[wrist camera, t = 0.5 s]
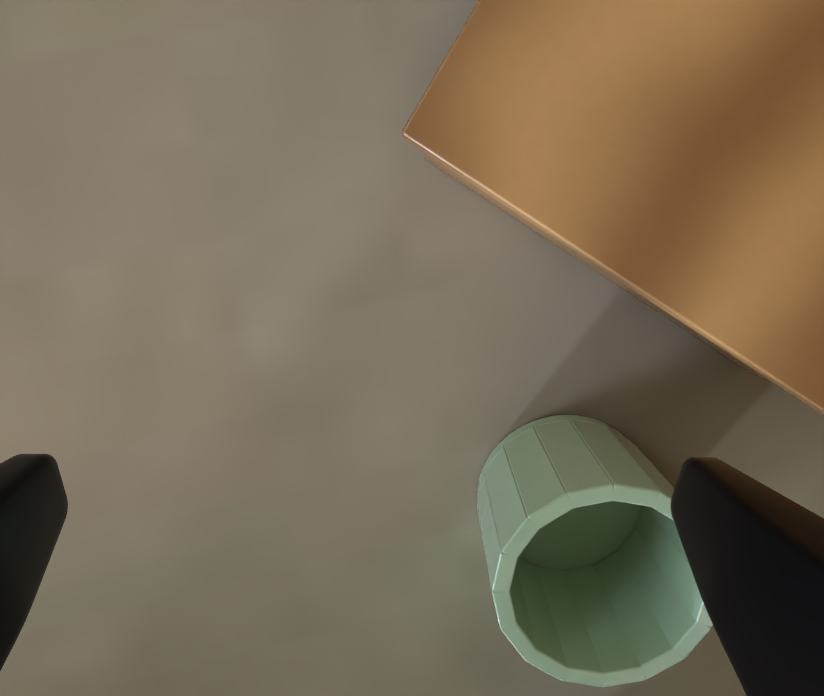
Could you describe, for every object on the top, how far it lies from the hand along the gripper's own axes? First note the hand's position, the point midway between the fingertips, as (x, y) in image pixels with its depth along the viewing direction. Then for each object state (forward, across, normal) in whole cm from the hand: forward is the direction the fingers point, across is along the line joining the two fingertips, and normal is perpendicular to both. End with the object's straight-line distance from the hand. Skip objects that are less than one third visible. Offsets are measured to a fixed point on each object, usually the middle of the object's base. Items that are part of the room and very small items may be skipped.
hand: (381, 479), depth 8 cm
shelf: (+12, -9, -3) cm, 16 cm away
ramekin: (+9, -7, +9) cm, 15 cm away
